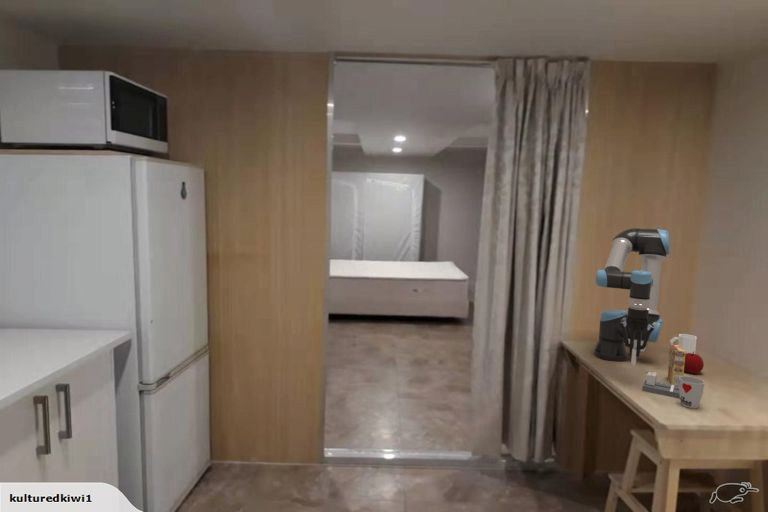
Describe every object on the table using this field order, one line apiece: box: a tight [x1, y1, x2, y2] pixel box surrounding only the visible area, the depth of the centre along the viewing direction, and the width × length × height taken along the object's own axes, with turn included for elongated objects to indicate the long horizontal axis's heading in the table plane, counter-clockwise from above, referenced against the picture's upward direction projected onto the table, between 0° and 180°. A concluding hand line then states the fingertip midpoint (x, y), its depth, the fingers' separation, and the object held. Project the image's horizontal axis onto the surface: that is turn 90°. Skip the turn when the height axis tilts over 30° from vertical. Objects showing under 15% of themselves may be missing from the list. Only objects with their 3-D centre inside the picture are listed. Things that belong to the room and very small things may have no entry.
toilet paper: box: [628, 339, 647, 353], centre depth 258 cm, size 8×11×7 cm
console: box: [641, 379, 680, 399], centre depth 197 cm, size 18×9×4 cm, turn 56°
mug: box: [669, 333, 698, 354], centre depth 249 cm, size 12×9×10 cm
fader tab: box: [646, 371, 658, 386], centre depth 200 cm, size 3×5×4 cm, turn 146°
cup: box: [679, 375, 705, 409], centre depth 184 cm, size 8×8×10 cm
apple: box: [684, 352, 704, 375], centre depth 222 cm, size 9×9×10 cm
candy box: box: [667, 344, 686, 386], centre depth 208 cm, size 9×4×15 cm, turn 162°
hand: (633, 363), depth 203 cm, fingers closed
